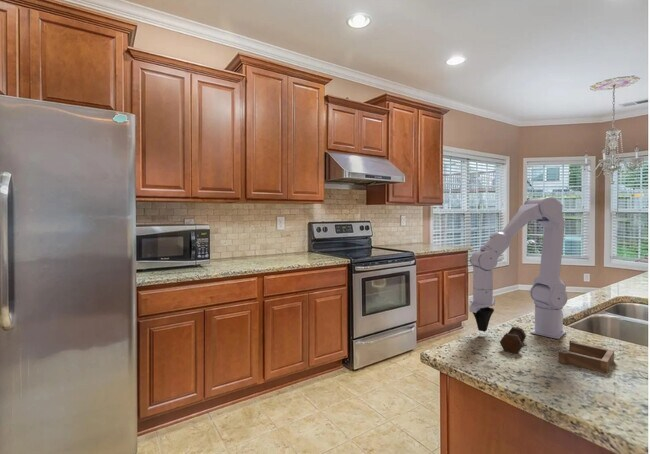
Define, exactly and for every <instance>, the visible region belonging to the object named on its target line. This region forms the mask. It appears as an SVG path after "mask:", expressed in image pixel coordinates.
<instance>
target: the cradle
mask: <svg viewBox="0 0 650 454" xmlns="http://www.w3.org/2000/svg"><path fill="white" fill-rule="evenodd" d="M568 346H569V351H568V350H565V349H564V350H563V349H562V350H558V356H557V357H558V361H557V362H558V363H561V364H563V365H568V364H569V365H573V366H576V367H580V368H584V369H587V370H592V371H596V372H600V373H603V374H608V372H609V371H610V368H612V365H613V364H614V362H615V350H613V349H608V348H604V347H601V346H594V345H590V344H585V343H580V342H578V341H577V340H570V339H569V345H568Z"/></svg>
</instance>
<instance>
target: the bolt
mask: <svg viewBox="0 0 650 454" xmlns="http://www.w3.org/2000/svg"><path fill="white" fill-rule="evenodd" d="M526 338H527V335H526V333H525V330H524V329H523V328H521V327H519V326H513V327H511V328H510V329H509V331H508V332H506V333H505V334H504V335H503V337H502V338H501V339H500V341H499V343H500V346H501V348H502V349H503V351H504V352H506V353H511V354H519V352H520V351H521V350H522V348H523V347H524V343H523V342H524V340H526Z"/></svg>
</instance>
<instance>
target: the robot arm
mask: <svg viewBox="0 0 650 454" xmlns="http://www.w3.org/2000/svg"><path fill="white" fill-rule="evenodd" d="M563 207H564V206H563V204H562V203H561V202H560V200H558V199H557V198H555V197H552V196H548V197H540V198H528V199H527V200H525V201H524V203H523V204H522V205H520V206H519V209H518V211H517V212H516V214H514V216H513V217H512V219H511V220H510V221H509V222H508V223H507V225H505V227H504V228H503V229H502V230H501V231H499V232H494V233H491V234H490V235H489V238H488V240H487V241H486V242H485V243H483V245H481V246H480V247H479V250H475V251H474V252H473V253H472V255H471V257H470V258H469V263H470V265H471V266H472V272H473V273H472V275H473V277H472V299H469V300H468V301H469V303H470V305H469V313H472V314H473V316H474V318H475V322H476V325H477V331H479V332H483V333H485V332H487V330H488V326H489V323H490V319H491V317H492V315H493V313H494V311H495V308H493V306H495V304H496V298H494V294H493V293H494V291H493V289H494V288H493V287H494V268H495V267H497V265H498V260H499V259H500V257H501V255H502V254H503V253H504V252H506V251H507V249H508V248H509V247H510V246H511V244H512V242H511V241H512V238H513V237H514V236H516V234H517V233H518V232H519V231H520V230H522V229H523V228H524V227H525V226H526V225H527V224H528V223H529V222H533V221H536V222H537V223H539V225H541V226H542V228H543V235H542V243H541V245H542V247H541V256H540V266H539V275H538V276H537V277H535V278H534V279H533V284H532V285H531V288H530V289H529V297H530V298H531V300H533V304H534V329H531V330H529V331H530V332H529V333H530V334H534V335H537V336H542V337H546V338H547V337H548V338H552V339H556V340H560V338H562V337H563V336H564V335H565V334H566V333H567V330H565V329H563V327H564V326H563V325H564V324H563V323H564V311H563V310H564V306H566V305H567V302H568V300H569V299H568V294H567V291H566V289H567V288H566V287H567V286H566V284H565V283H564V282H563V280H562V279H561V277H560V276H561V267H562V257H563V256H562V255H563V247H564V237H565V227H566V226H565V225H566V222H565V218H564V215H563Z"/></svg>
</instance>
